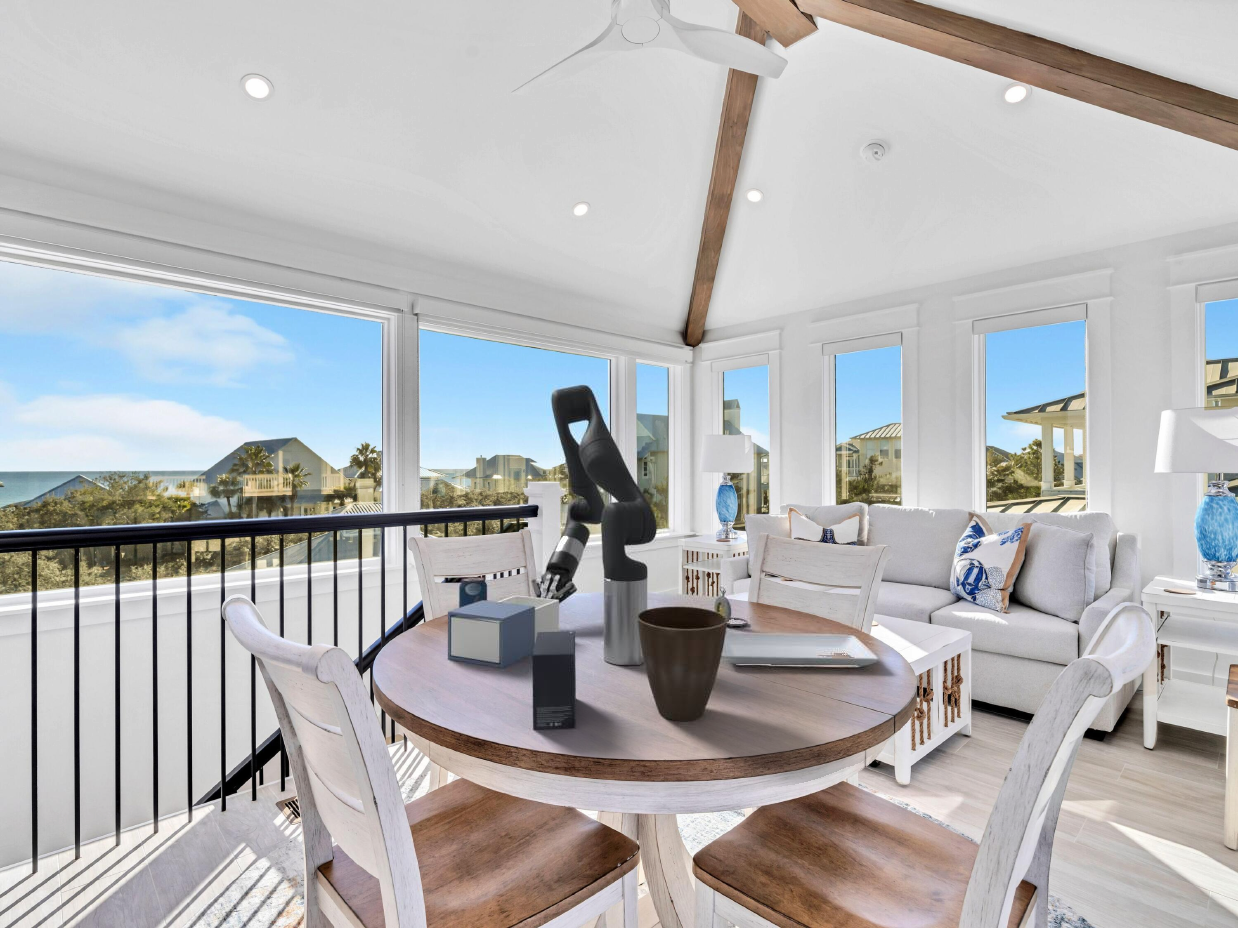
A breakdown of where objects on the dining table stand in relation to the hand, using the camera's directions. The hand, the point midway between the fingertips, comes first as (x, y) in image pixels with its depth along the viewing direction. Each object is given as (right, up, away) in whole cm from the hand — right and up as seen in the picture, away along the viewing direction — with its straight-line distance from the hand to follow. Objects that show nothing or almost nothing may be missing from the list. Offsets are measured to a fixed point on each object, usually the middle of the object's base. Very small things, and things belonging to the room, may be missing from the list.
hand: (540, 615), depth 152 cm
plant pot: (+29, -5, -48) cm, 57 cm away
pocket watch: (+48, -5, +8) cm, 49 cm away
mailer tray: (-6, -3, -12) cm, 14 cm away
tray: (+56, -5, -19) cm, 59 cm away
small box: (+8, -5, -49) cm, 49 cm away
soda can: (-18, -4, +6) cm, 20 cm away
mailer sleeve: (-8, -4, -18) cm, 20 cm away
